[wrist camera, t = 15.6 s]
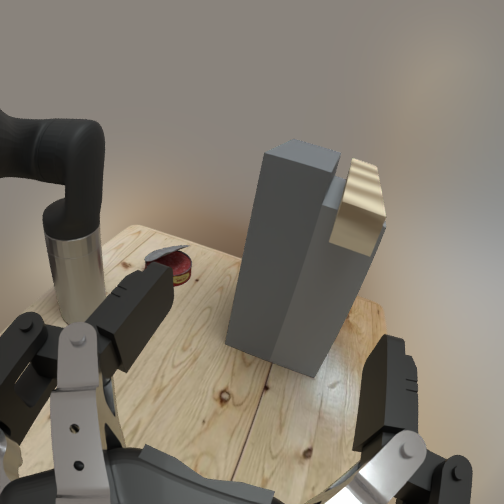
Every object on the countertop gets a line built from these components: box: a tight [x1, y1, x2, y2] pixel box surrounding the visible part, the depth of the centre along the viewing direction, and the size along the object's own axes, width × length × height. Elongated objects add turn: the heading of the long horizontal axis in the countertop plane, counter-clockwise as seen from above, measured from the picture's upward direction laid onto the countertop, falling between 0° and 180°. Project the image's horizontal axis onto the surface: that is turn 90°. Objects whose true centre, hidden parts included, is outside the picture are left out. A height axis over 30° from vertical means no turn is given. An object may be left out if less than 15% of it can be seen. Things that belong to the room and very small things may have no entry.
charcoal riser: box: [225, 139, 386, 378], centre depth 48 cm, size 16×16×32 cm
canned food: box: [144, 245, 192, 287], centre depth 63 cm, size 11×10×10 cm
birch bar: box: [329, 158, 386, 257], centre depth 36 cm, size 24×4×4 cm, turn 160°
